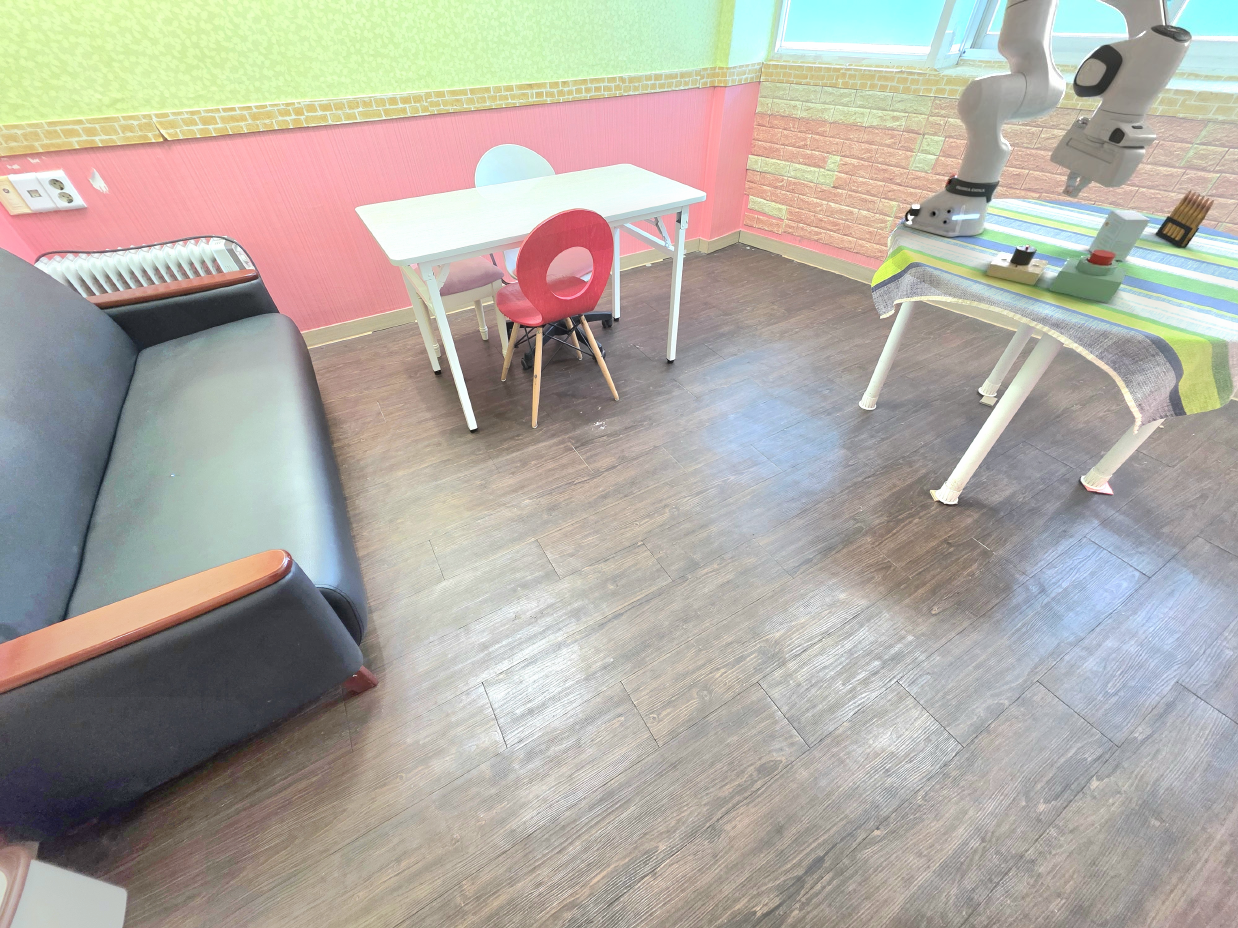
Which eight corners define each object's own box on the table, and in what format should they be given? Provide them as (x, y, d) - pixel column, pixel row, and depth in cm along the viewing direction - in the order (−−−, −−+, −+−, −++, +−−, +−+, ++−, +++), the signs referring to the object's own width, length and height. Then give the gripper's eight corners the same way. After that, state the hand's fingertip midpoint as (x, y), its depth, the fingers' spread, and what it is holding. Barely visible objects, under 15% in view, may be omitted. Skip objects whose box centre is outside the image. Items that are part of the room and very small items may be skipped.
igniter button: (1085, 264, 118) (1091, 254, 117) (1088, 258, 121) (1094, 248, 119) (1107, 268, 116) (1114, 258, 115) (1111, 262, 118) (1117, 252, 117)
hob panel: (985, 275, 131) (991, 263, 129) (995, 263, 137) (1001, 251, 134) (1033, 285, 126) (1040, 273, 124) (1042, 272, 131) (1049, 260, 129)
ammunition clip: (1154, 234, 146) (1184, 189, 138) (1161, 234, 146) (1192, 189, 137) (1178, 247, 138) (1212, 201, 130) (1186, 247, 138) (1220, 201, 130)
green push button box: (1048, 290, 123) (1064, 262, 119) (1057, 277, 129) (1073, 249, 124) (1108, 303, 117) (1127, 274, 113) (1114, 288, 122) (1133, 260, 118)
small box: (1124, 261, 133) (1151, 220, 126) (1101, 260, 134) (1126, 219, 127) (1109, 250, 139) (1135, 210, 132) (1087, 249, 140) (1110, 209, 133)
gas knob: (1028, 266, 127) (1036, 251, 124) (1008, 263, 129) (1016, 248, 126) (1030, 261, 129) (1038, 246, 127) (1011, 257, 131) (1018, 243, 129)
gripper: (1065, 115, 114) (1028, 181, 124) (1134, 139, 100) (1086, 211, 110) (1091, 115, 114) (1052, 180, 124) (1163, 139, 100) (1113, 211, 110)
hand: (1068, 195), depth 117 cm, fingers closed
